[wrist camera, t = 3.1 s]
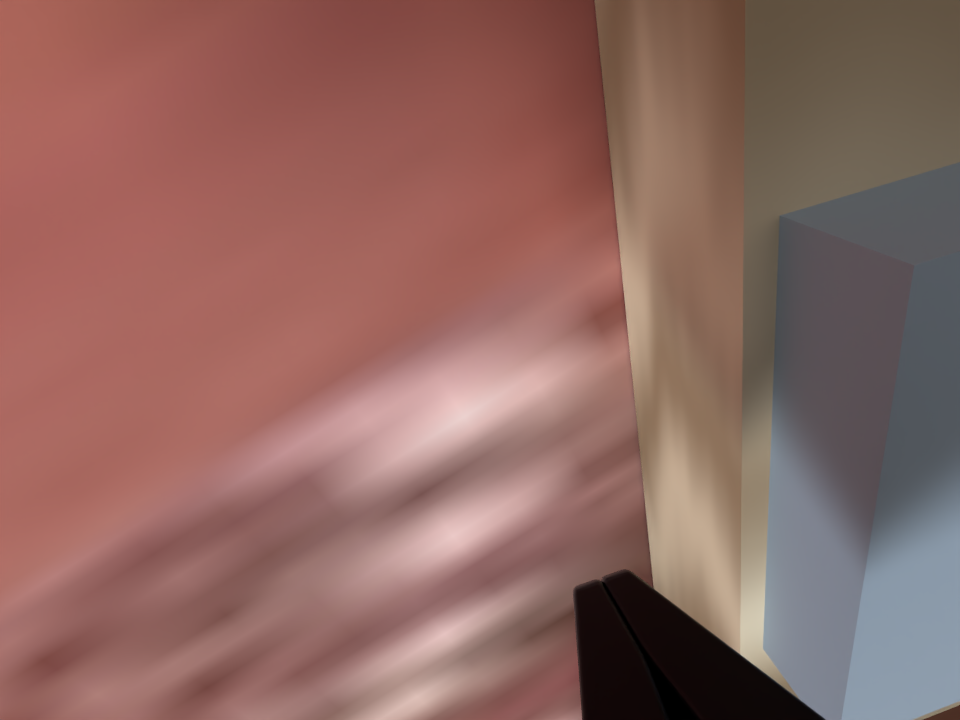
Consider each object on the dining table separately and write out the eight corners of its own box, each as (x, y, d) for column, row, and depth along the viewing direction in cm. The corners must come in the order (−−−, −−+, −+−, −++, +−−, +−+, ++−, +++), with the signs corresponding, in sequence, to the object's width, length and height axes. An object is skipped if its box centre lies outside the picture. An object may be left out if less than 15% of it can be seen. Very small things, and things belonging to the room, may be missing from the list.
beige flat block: (977, 534, 19) (1121, 640, 16) (660, 650, 18) (739, 792, 15) (1235, -371, 9) (1773, -615, 6) (571, -230, 8) (749, -429, 5)
